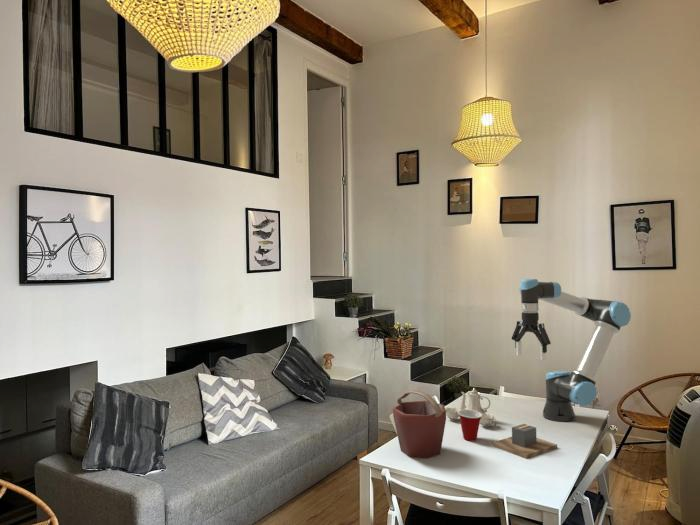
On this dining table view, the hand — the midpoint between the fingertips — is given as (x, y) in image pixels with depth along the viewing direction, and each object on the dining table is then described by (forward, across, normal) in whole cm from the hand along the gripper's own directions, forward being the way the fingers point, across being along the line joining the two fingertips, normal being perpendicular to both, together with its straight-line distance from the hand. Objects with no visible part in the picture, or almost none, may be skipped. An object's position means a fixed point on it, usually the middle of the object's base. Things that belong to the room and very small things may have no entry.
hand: (530, 357), depth 250 cm
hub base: (+35, +11, -19) cm, 41 cm away
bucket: (+35, -12, -57) cm, 68 cm away
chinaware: (+35, -28, -11) cm, 46 cm away
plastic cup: (+35, -10, -30) cm, 47 cm away
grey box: (+33, +11, -19) cm, 40 cm away
